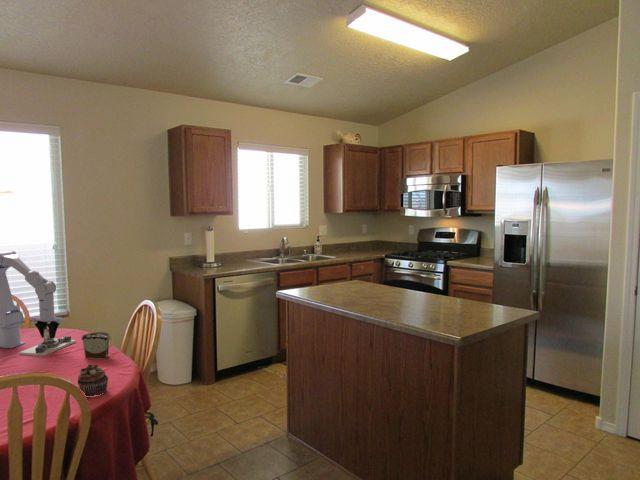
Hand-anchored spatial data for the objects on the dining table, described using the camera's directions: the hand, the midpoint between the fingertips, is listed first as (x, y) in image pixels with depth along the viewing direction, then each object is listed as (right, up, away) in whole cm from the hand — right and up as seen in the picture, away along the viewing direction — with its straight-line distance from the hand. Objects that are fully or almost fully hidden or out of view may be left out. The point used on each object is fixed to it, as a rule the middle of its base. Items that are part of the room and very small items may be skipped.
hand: (48, 337), depth 205 cm
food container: (+29, -6, -10) cm, 31 cm away
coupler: (0, -2, 0) cm, 2 cm away
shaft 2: (+4, -4, +6) cm, 9 cm away
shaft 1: (+1, -6, -6) cm, 9 cm away
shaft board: (0, -5, 0) cm, 5 cm away
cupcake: (+45, -10, -47) cm, 66 cm away
